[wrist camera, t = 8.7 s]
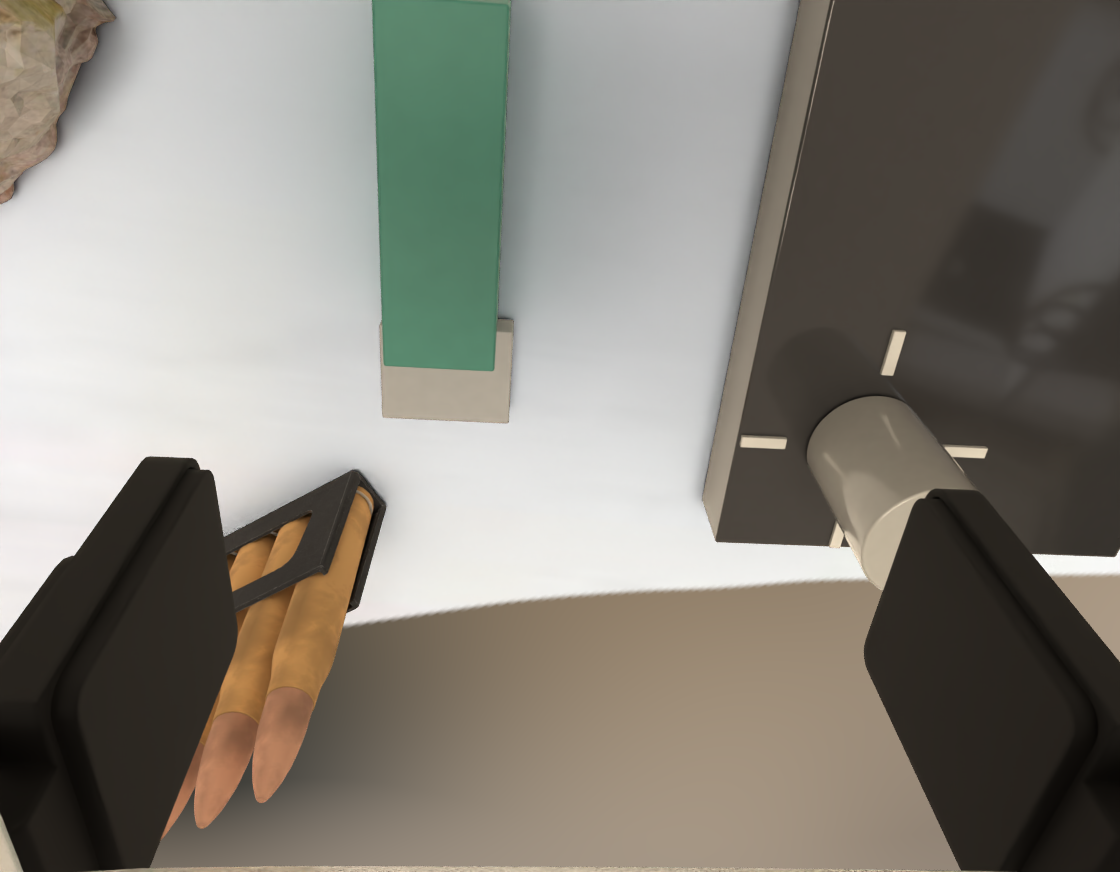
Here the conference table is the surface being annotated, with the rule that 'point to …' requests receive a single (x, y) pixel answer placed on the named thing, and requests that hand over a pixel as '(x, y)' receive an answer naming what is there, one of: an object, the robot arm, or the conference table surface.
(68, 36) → the geological specimen
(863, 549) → the dial
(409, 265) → the teal post
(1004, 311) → the hob
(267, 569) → the ammunition clip
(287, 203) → the conference table surface
